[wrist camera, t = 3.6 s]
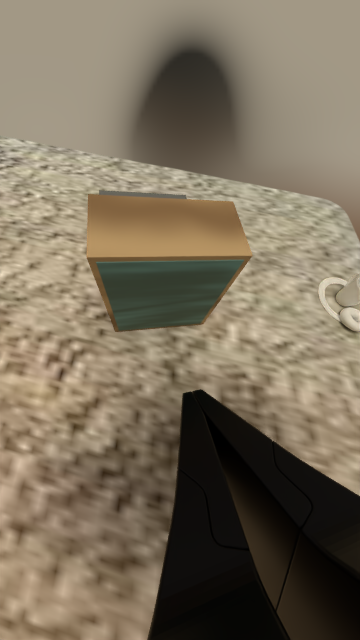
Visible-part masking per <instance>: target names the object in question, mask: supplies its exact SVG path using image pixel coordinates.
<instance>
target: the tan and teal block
mask: <svg viewBox="0 0 360 640" xmlns="http://www.w3.org/2000/svg"><path fill="white" fill-rule="evenodd" d="M252 256H253V255H252V253H251V250H250V247H249V244H248V242H247V239H246V236H245V233H244V231H243V228H242V225H241V222H240V219H239V217H238V214H237V211H236V208H235V206H234V203H233V202H230V201H210V200H191V199H172V198H152V197H133V196H113V195H94V194H88V224H87V260H88V262H89V265H90V267H91V270H92V272H93V275H94V278H95V280H96V283H97V285H98V288H99V290H100V293H101V296H102V298H103V301H104V303H105V306H106V308H107V311H108V314H109V316H110V319H111V321H112V324H113V327H114V329H115V332H120V331H132V330H143V329H155V328H166V327H177V326H189V325H200V324H203V323H204V322H205V321H206V319H207V318H208V316H209V315H210V314H211V312H212V311H213V310H214V308H215V307H216V305H217V304H218V303H219V301H220V300H221V298H222V297H223V296H224V294H225V293H226V292H227V290H228V289H229V287H230V286H231V285H232V283H233V282H234V280H235V279H236V278H237V276H238V275H239V274H240V272H241V271H242V269H243V268H244V267H245V265H246V264H247V262H248V261H249V260H250V258H251V257H252Z"/></svg>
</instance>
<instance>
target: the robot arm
mask: <svg viewBox="0 0 360 640" xmlns="http://www.w3.org/2000/svg"><path fill="white" fill-rule="evenodd" d="M177 469H178V470H177V479H176V490H175V500H174V507H173V513H172V519H171V525H170V531H169V536H168V541H167V547H166V552H165V557H164V563H163V568H162V573H161V578H160V584H159V589H158V594H157V599H156V604H155V609H154V614H153V618H152V622H151V627H150V631H149V635H148V639H147V640H360V496H359V495H357V494H355V493H354V492H352V491H350V490H349V489H347V488H346V487H344V486H342V485H341V484H339V483H337V482H336V481H334V480H332V479H331V478H329V477H327V476H326V475H324V474H322V473H321V472H319V471H318V470H316V469H314V468H313V467H311V466H310V465H308V464H307V463H305V462H303V461H302V460H300V459H299V458H297V457H296V456H294V455H293V454H291V453H290V452H288V451H287V450H286V449H284V448H283V447H281V446H280V445H279V444H277V443H276V442H274V441H272V440H271V439H270V438H269V437H267V436H266V435H264V434H263V433H262V432H260V431H259V430H258V429H256V428H255V427H253V426H252V425H251V424H249V423H248V422H246V421H245V420H244V419H242V418H241V417H239V416H238V415H237V414H235V413H234V412H232V411H231V410H230V409H228V408H227V407H226V406H224V405H223V404H221V403H220V402H219V401H217V400H216V399H214V398H213V397H212V396H210V395H209V394H207V393H206V392H205V391H203V390H201V389H200V390H195V391H193V392H186V393H183V396H182V410H181V424H180V439H179V453H178V467H177Z"/></svg>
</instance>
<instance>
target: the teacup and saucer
mask: <svg viewBox="0 0 360 640" xmlns="http://www.w3.org/2000/svg"><path fill="white" fill-rule="evenodd" d="M358 276H360V274H355V275H354V276H353V277H352V278H351V279H350V280H349V281H348V282H347V281H345V280H343V279H340V278H335V277H331V278H326V279H324V280H323V281H322V282H321V283H320V285H319V288H318V295H319V299H320V301H321V303H322V305H323V307H324V308H325V310H326V311H327V312H328V313H329V314H330V315H331V316H332V317H333V318H335V319H336V320H338V321H339V322H341V323H343V324H344V325H345V326H346V327H348V328H349V329H351V330H353V331H357V332H360V311H359V310H357V309H354V308H349V306H354V305H357V304H360V277H359V278H357V277H358ZM355 278H357V279H356V280H354V279H355ZM353 280H354V281H353ZM352 281H353V282H352ZM332 283H338V284H342V285H344V286H345V287H344V288H343V289H341V290H340V291H339V292H338V293H337V295H336V301H337V302H338V303H339V304H340V305H341V306H344V307H348V308H344V309H343V310H341V312H340V315H338V314H336V313H335V312H334V311H333V310H332V309H331V308H330V307H329V305H328V304H327V302H326V299H325V295H324V292H325V288H326V287H327V286H328V285H329V284H332Z"/></svg>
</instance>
